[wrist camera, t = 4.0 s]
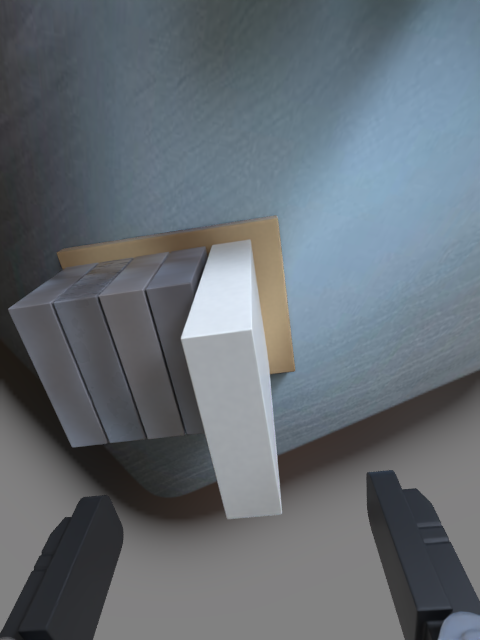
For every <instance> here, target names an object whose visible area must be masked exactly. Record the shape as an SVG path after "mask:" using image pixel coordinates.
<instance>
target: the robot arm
mask: <svg viewBox="0 0 480 640" xmlns="http://www.w3.org/2000/svg"><path fill="white" fill-rule="evenodd" d="M367 510H368V517H369V522H370V526H371V530H372V533H373V536H374V539H375V543H376V546H377V549H378V553H379V556H380V559H381V562H382V566H383V569H384V572H385V576H386V579H387V582H388V585H389V589H390V592H391V595H392V598H393V602H394V605H395V608H396V612H397V615H398V618H399V622H400V625H401V628H402V631H403V635H404V638H405V640H480V601H479V599H478V597H477V595H476V593H475V591H474V589H473V587H472V585H471V583H470V581H469V579H468V577H467V575H466V573H465V571H464V568H463V566H462V564H461V562H460V560H459V558H458V556H457V554H456V552H455V550H454V548H453V546H452V544H451V542H449V538H448V536H447V534H446V532H445V530H444V528H443V526H442V525H441V522H440V520H439V517H438V516H437V513H436V511H435V510H434V507H433V505H432V504H431V503H430V501H429V500H427V498H426V497H425V496H423V495H422V494H421V493H420V492H419V491H418V490H417V489H416V488H415V489H403V490H402V488H401V486H400V484H399V481H398V479H397V476H396V474H395V472H394V471H393V470H389V471H378V472H368V473H367ZM122 544H123V527H122V524H121V522H120V520H119V518H118V515H117V513H116V511H115V508H114V506H113V504H112V502H111V500H110V498H109V496H107V495H104V496H103V495H102V496H92V497H83V498H82V499H81V500H80V501H79V503H78V504H77V506H76V509H75V511H74V513H73V515H72V517H65V518H64V519H63V520H62V522H61V523H60V524H59V525H58V526H57V527H56V528H55V530H54V531H53V532H52V533H51V534H50V536H49V538H48V541H47V542H46V544H45V546H44V548H43V550H42V555H41V556H39V558H38V560H37V562H36V564H35V566H34V571H32V572H31V574H30V576H29V578H28V580H27V582H26V584H25V586H24V588H23V590H22V592H21V594H20V596H19V598H18V600H17V602H16V604H15V606H14V608H13V610H12V612H11V614H10V616H9V618H8V620H7V622H6V624H5V626H4V628H3V630H2V631H1V633H0V640H93V637H94V634H95V631H96V628H97V625H98V621H99V618H100V615H101V612H102V609H103V605H104V602H105V599H106V596H107V593H108V590H109V586H110V583H111V580H112V577H113V574H114V570H115V567H116V564H117V561H118V558H119V555H120V551H121V548H122Z"/></svg>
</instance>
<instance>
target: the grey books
mask: <svg viewBox="0 0 480 640" xmlns="http://www.w3.org/2000/svg"><path fill="white" fill-rule="evenodd" d="M249 239H250V240H251V246H252V252H253V259H254V266H255V273H256V280H257V286H258V293H259V300H260V307H261V314H262V320H263V327H264V334H265V341H266V347H267V354H268V361H269V371H270V374H277V373H285V372H293V371H295V364H294V355H293V346H292V338H291V329H290V320H289V311H288V302H287V293H286V284H285V276H284V267H283V258H282V249H281V240H280V231H279V222H278V217H277V216H276V215H275V216H269V217H262V218H256V219H249V220H243V221H237V222H230V223H224V224H218V225H211V226H205V227H198V228H192V229H186V230H179V231H173V232H167V233H160V234H154V235H147V236H141V237H135V238H128V239H122V240H116V241H109V242H103V243H96V244H90V245H84V246H77V247H71V248H65V249H62V250H60V251H59V252H57V256H58V259H59V261H60V264H61V266H62V269H63V270H62V271H60V272H59V273H58V274H56V275H55V276H53V277H52V278H51V279H49V280H48V281H46V282H45V283H44V284H42V285H41V286H39V287H38V288H37V289H35V290H34V291H32V292H31V293H30V294H28V295H27V296H25V297H24V298H23V299H21V300H20V301H18V302H17V303H16V304H14V305H13V306H11V307H10V308H8V311H9V313H10V315H11V317H12V319H13V322H14V324H15V326H16V328H17V330H18V332H19V334H20V337H21V339H22V341H23V343H24V345H25V347H26V349H27V352H28V354H29V356H30V358H31V360H32V362H33V365H34V367H35V369H36V371H37V373H38V375H39V377H40V380H41V382H42V384H43V386H44V388H45V390H46V392H47V395H48V397H49V399H50V401H51V403H52V405H53V407H54V409H55V412H56V414H57V416H58V418H59V420H60V423H61V425H62V427H63V429H64V431H65V433H66V435H67V438H68V440H69V442H70V444H71V446H72V447H81V446H90V445H99V444H107V443H108V442H110V443H116V442H126V441H135V440H144V439H146V437H148V439H155V438H164V437H173V436H183V435H185V432H186V433H187V435H191V434H201V433H205V432H204V428H203V424H202V420H201V416H200V412H199V408H198V405H197V401H196V397H195V393H194V389H193V385H192V381H191V377H190V373H189V370H188V366H187V362H186V358H185V354H184V350H183V346H182V342H181V336H182V333H183V330H184V327H185V324H186V321H187V318H188V315H189V312H190V309H191V306H192V303H193V301H194V298H195V295H196V292H197V289H198V286H199V283H200V280H201V277H202V274H203V271H204V268H205V265H206V262H207V259H208V256H209V253H210V250H211V247H212V245H216V244H223V243H229V242H236V241H242V240H249Z"/></svg>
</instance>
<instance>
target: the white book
mask: <svg viewBox="0 0 480 640" xmlns="http://www.w3.org/2000/svg"><path fill="white" fill-rule="evenodd" d="M181 342H182V346H183V350H184V354H185V358H186V362H187V366H188V370H189V373H190V377H191V381H192V385H193V389H194V393H195V397H196V401H197V405H198V408H199V412H200V416H201V420H202V424H203V428H204V432H205V436H206V439H207V443H208V447H209V451H210V455H211V459H212V463H213V467H214V470H215V474H216V478H217V482H218V486H219V490H220V494H221V498H222V501H223V505H224V509H225V513H226V517H227V519H236V518H247V517H259V516H270V515H281V514H282V506H281V495H280V483H279V473H278V461H277V449H276V438H275V427H274V416H273V405H272V393H271V382H270V371H269V361H268V354H267V347H266V341H265V334H264V327H263V320H262V314H261V307H260V300H259V293H258V286H257V280H256V273H255V266H254V259H253V252H252V246H251V240H250V239H249V240H242V241H236V242H229V243H223V244H216V245H212V247H211V250H210V253H209V256H208V259H207V262H206V265H205V268H204V271H203V274H202V277H201V280H200V283H199V286H198V289H197V292H196V295H195V298H194V301H193V303H192V306H191V309H190V312H189V315H188V318H187V321H186V324H185V327H184V330H183V333H182V336H181Z"/></svg>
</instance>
